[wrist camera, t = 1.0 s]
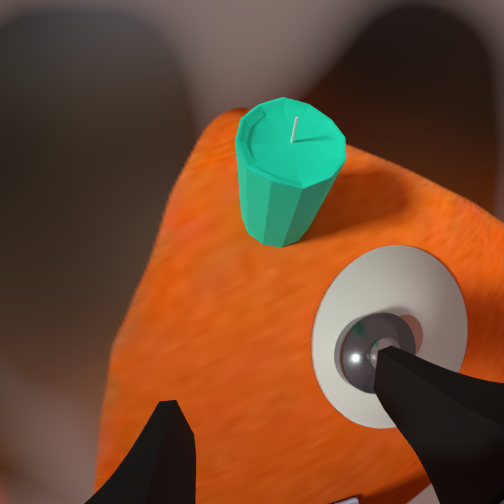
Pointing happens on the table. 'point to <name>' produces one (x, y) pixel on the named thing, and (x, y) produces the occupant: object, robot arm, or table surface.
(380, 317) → the cover
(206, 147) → the table surface
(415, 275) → the cream flat disc
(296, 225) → the candle
